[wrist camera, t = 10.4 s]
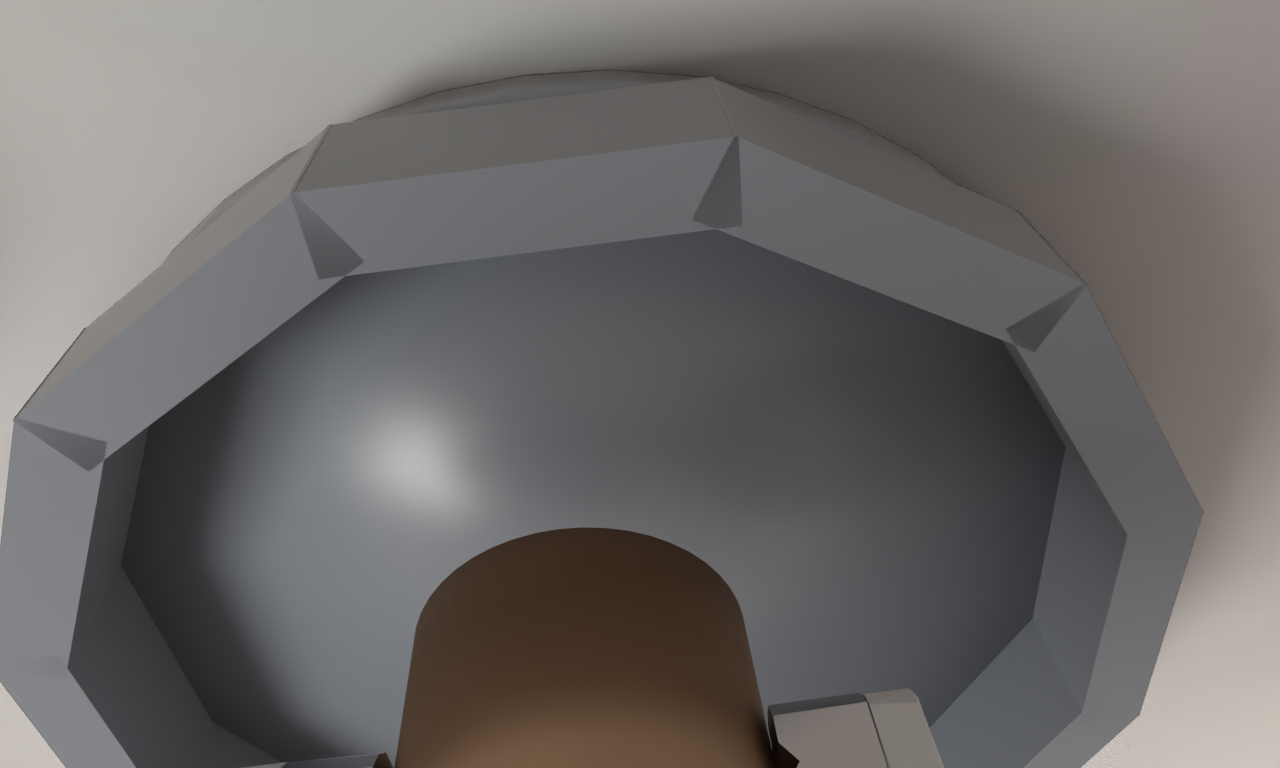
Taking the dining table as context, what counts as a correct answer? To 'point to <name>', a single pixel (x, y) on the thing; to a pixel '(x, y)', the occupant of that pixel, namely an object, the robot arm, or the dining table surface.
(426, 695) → the light brown rounded cylinder
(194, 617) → the round tray
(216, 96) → the dining table surface
